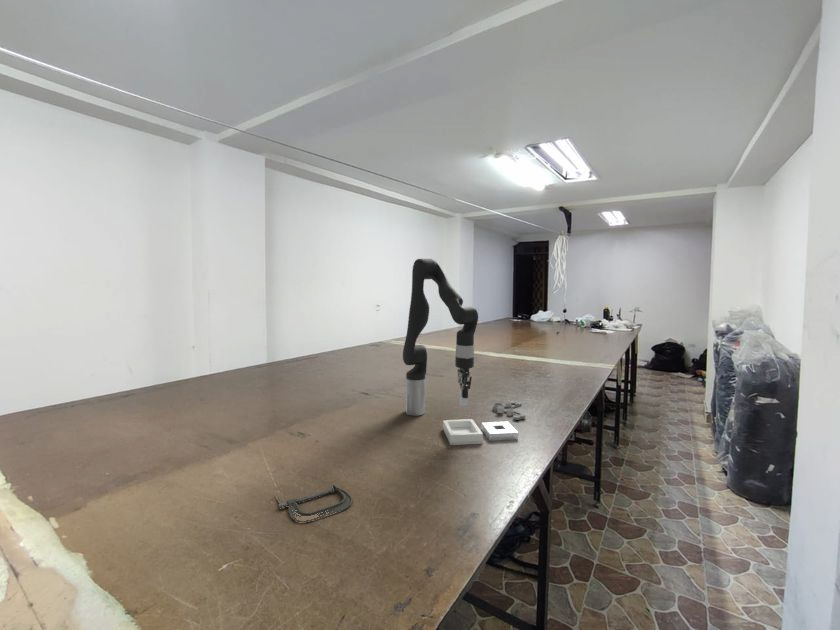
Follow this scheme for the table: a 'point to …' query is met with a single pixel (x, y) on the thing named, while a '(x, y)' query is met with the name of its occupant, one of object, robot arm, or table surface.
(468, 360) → the robot arm
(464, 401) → the lock pin
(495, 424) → the block
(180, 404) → the table surface
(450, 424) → the parts tray
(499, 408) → the pulley system
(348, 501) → the c clamp
